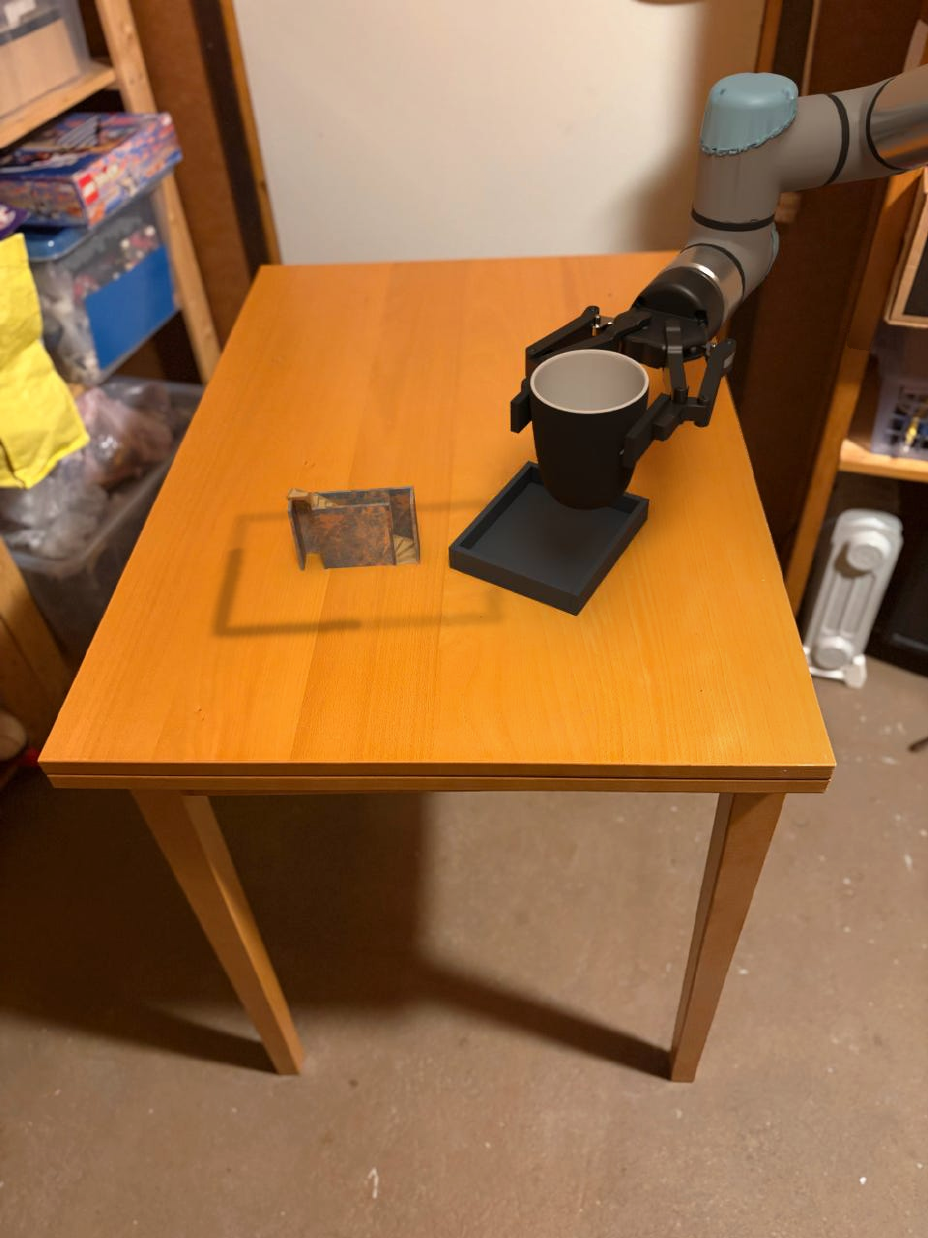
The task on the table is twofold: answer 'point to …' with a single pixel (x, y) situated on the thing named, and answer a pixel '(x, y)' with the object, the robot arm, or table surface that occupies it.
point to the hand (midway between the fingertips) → (570, 434)
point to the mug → (586, 424)
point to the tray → (546, 542)
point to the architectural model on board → (355, 526)
